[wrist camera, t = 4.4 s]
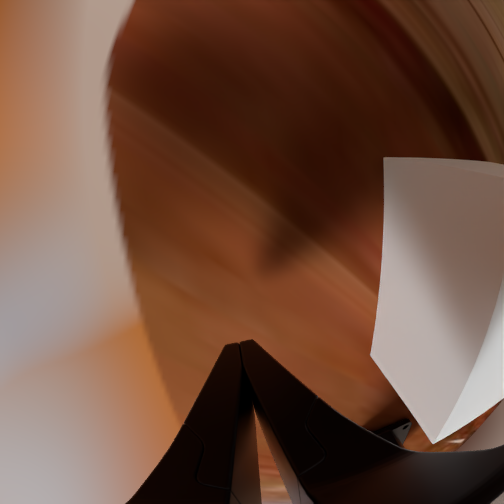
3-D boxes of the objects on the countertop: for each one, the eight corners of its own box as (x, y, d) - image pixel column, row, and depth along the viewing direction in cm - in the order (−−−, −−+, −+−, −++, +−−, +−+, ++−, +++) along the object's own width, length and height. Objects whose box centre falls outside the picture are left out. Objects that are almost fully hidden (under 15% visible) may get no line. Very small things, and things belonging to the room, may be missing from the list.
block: (465, 318, 14) (530, 375, 8) (368, 353, 13) (432, 444, 7) (487, 161, 10) (583, 185, 5) (381, 157, 10) (515, 180, 4)
